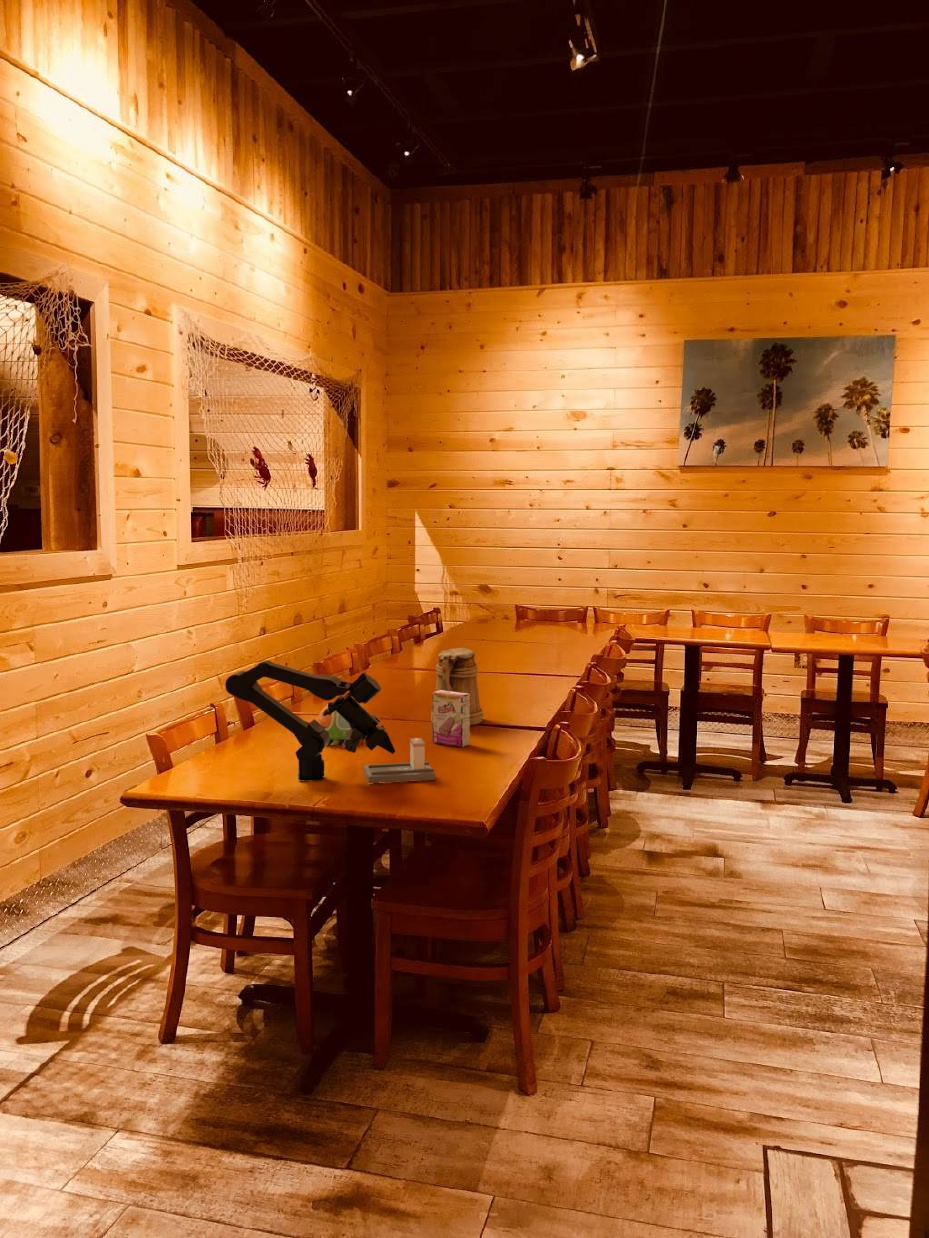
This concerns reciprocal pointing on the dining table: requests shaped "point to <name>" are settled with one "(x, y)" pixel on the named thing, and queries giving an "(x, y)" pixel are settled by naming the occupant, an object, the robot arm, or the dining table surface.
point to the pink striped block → (417, 753)
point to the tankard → (460, 678)
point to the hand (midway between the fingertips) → (393, 752)
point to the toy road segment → (397, 772)
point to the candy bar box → (451, 718)
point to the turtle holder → (334, 725)
